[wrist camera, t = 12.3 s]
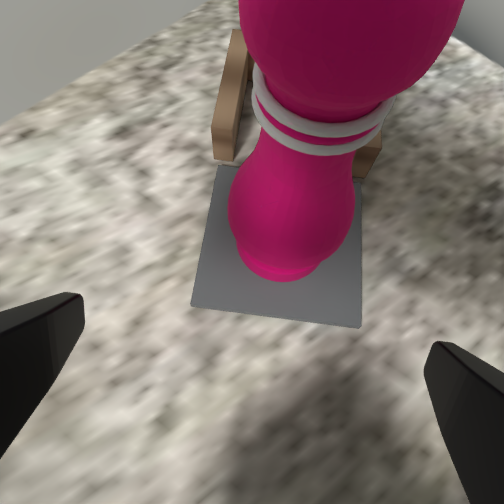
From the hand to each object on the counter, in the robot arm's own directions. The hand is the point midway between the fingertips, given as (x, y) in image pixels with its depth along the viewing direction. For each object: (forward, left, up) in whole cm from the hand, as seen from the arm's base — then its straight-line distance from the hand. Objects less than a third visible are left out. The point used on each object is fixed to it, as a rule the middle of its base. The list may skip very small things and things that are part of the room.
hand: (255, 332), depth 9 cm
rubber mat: (+6, -7, -14) cm, 16 cm away
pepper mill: (+6, -7, -13) cm, 16 cm away
